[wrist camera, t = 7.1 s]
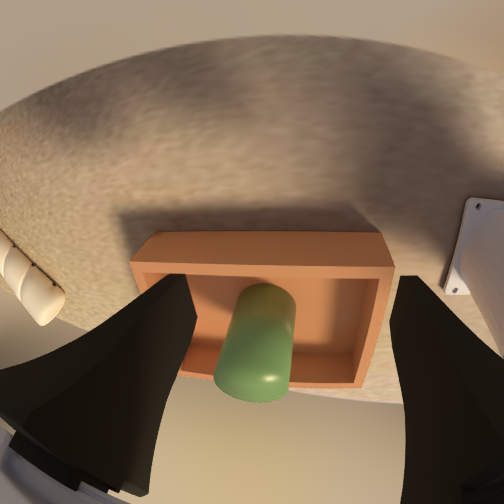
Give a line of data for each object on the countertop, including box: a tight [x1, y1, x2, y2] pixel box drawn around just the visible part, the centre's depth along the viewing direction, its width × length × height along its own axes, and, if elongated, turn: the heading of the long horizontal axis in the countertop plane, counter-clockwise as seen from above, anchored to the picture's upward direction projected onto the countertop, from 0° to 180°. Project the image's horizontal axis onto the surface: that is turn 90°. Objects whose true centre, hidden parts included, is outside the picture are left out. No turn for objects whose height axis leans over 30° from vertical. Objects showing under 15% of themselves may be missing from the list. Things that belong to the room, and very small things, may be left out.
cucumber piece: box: [213, 283, 296, 403], centre depth 19 cm, size 4×4×7 cm
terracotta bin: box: [129, 231, 395, 388], centre depth 21 cm, size 16×12×4 cm
